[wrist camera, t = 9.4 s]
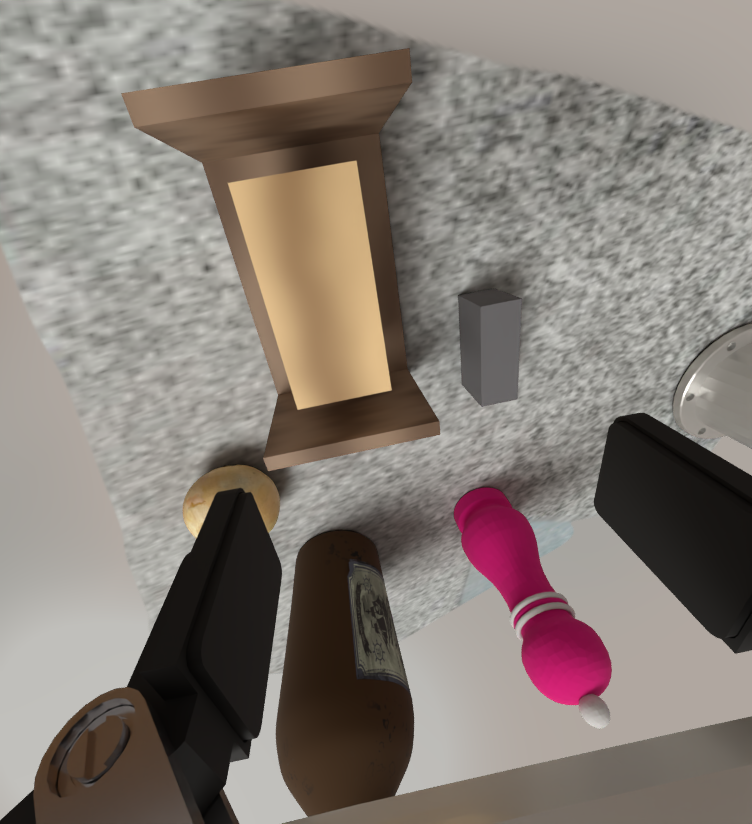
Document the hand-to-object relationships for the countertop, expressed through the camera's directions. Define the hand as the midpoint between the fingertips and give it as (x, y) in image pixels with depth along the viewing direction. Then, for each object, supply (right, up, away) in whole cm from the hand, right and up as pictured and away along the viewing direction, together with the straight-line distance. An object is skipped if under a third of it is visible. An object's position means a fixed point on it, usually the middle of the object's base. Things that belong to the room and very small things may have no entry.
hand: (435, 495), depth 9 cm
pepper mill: (+10, -9, +31) cm, 34 cm away
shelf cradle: (-6, +12, +17) cm, 22 cm away
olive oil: (-6, -15, +32) cm, 35 cm away
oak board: (-5, +9, +12) cm, 16 cm away
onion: (-15, -5, +25) cm, 30 cm away
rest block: (+7, +9, +21) cm, 24 cm away
